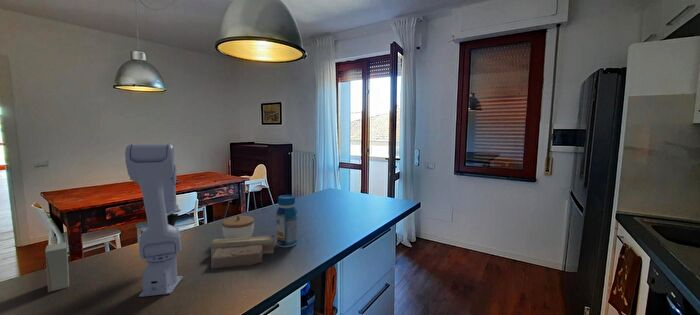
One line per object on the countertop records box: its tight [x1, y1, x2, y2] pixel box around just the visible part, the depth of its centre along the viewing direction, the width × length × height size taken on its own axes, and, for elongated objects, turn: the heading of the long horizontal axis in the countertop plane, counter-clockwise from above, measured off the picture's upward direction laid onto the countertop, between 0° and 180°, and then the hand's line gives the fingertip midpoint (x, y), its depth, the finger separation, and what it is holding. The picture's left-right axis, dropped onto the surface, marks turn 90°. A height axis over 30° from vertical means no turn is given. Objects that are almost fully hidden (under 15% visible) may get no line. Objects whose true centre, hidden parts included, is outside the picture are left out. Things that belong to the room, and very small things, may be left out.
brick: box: [210, 244, 264, 269], centre depth 99 cm, size 17×8×5 cm, turn 104°
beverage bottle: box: [275, 194, 298, 248], centre depth 114 cm, size 8×8×20 cm
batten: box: [210, 235, 275, 259], centre depth 106 cm, size 4×22×6 cm, turn 102°
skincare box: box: [45, 241, 70, 293], centre depth 82 cm, size 6×4×12 cm
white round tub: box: [221, 214, 255, 239], centre depth 117 cm, size 13×13×11 cm
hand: (168, 236), depth 96 cm, fingers closed
